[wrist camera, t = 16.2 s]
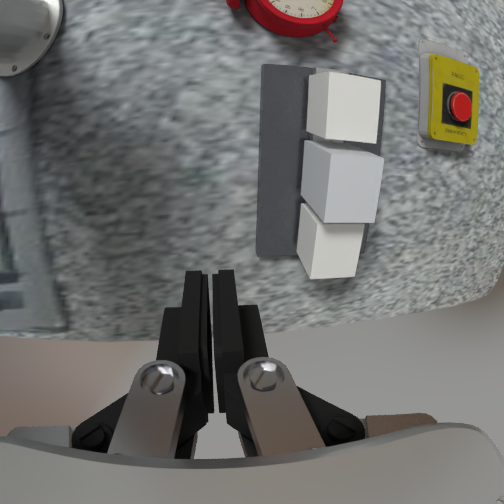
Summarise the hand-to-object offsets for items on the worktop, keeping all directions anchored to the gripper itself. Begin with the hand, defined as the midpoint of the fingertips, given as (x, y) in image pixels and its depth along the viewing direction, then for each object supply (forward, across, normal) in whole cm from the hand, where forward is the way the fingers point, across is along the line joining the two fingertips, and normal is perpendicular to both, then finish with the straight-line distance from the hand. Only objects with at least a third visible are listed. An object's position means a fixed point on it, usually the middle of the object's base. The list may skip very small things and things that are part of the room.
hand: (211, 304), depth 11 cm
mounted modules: (+23, -12, 0) cm, 26 cm away
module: (+23, -12, 0) cm, 26 cm away
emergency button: (+26, -30, -11) cm, 41 cm away
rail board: (+25, -12, 0) cm, 28 cm away
